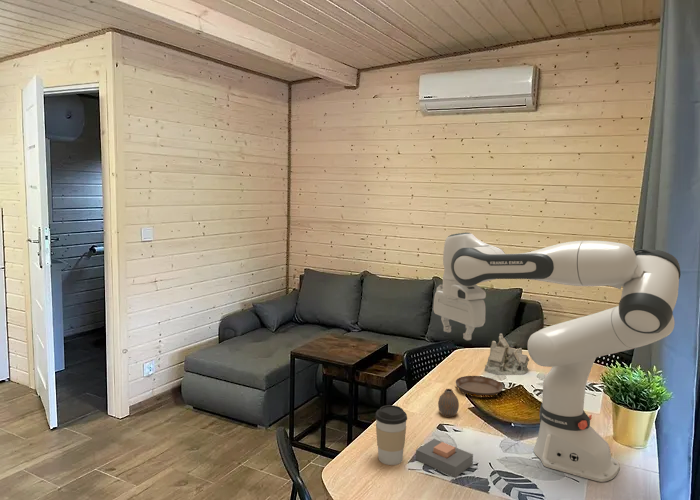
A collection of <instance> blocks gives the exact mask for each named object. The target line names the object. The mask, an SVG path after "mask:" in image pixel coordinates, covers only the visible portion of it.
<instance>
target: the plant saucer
mask: <svg viewBox="0 0 700 500" xmlns="http://www.w3.org/2000/svg"><path fill="white" fill-rule="evenodd" d="M455 385H456V386H457V388H458V389H459V391H460V392H461V393H462V394H465V395H466V394H467V393H469V394H476V395H495V394H497V395H499V394H500V393H501V392H502V390H503V389H504V385H503V383H501V382H500V381H498V380H496V379H493V378H491V377H487V376H482V375H465V376H460V377H458V378H457V379H456V380H455ZM498 393H499V394H498Z"/></svg>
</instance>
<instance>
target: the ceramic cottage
mask: <svg viewBox="0 0 700 500" xmlns="http://www.w3.org/2000/svg"><path fill="white" fill-rule="evenodd" d="M489 349H490V350H489V356H488V358H487V362H486V364H485V366H484V367H485V368H484V371H485V372H486V373H488V374H492V375H498V376H523V375H526V374H527V373H529V368H528V365H529V361H530V359H529V356H528V355H527V354H524V353H523V349H522V347H519V348H515V347H510V345H509V343H508V342H507V340H506V338H504V335H503V333H499V336H498V343H497V342H496V341H495V340H492V341H491V345H490V348H489Z"/></svg>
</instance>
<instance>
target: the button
mask: <svg viewBox="0 0 700 500" xmlns="http://www.w3.org/2000/svg"><path fill="white" fill-rule="evenodd" d="M455 447H456V446H453V445H451V444H449V443H446V442H444V441H441V443H440V444H438V445H437V446H435V447H434V449H433V453H435V454H437V455H440V456H442V457H444V458H449V457H450V456H452V455H453V454H455Z"/></svg>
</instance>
